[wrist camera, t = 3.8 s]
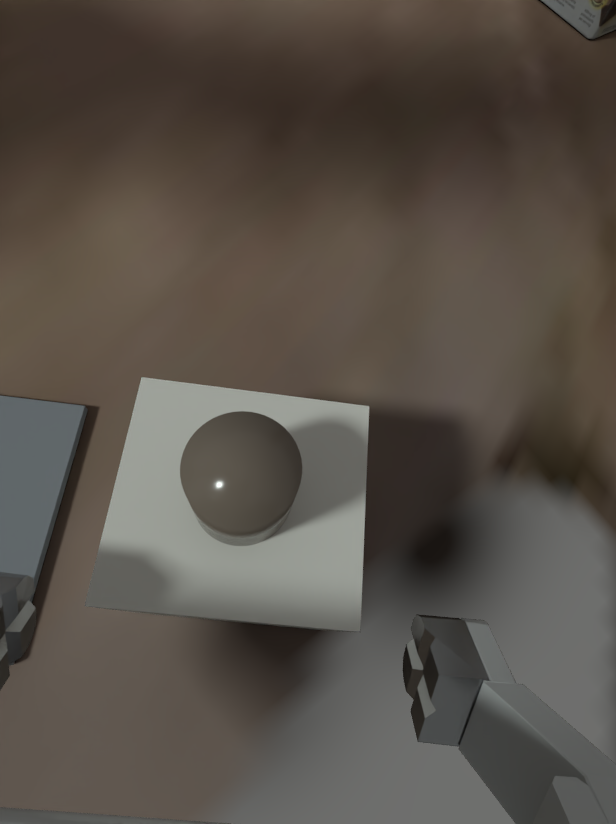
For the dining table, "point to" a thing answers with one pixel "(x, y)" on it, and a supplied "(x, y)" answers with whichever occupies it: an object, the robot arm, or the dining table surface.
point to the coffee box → (587, 15)
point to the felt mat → (33, 477)
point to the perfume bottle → (237, 509)
